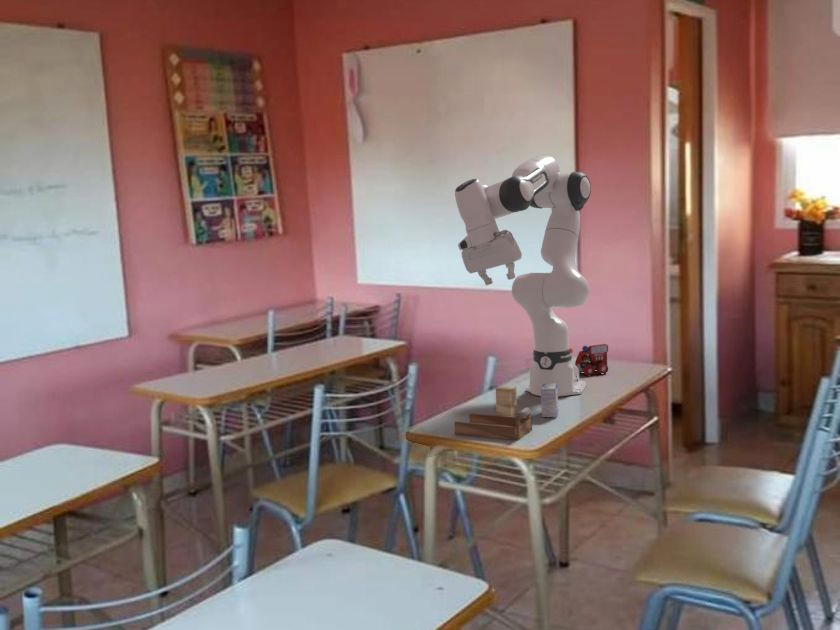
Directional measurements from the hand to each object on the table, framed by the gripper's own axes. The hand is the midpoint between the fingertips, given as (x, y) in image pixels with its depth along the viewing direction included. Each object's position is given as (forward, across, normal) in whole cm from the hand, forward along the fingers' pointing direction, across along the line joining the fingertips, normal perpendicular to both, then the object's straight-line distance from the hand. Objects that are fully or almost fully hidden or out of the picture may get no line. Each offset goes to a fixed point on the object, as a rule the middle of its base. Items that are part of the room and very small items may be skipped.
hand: (500, 281), depth 262 cm
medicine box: (+43, +2, -3) cm, 43 cm away
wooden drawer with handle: (+38, +1, +21) cm, 43 cm away
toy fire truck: (+48, +29, -55) cm, 78 cm away
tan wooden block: (+39, +7, +10) cm, 40 cm away
